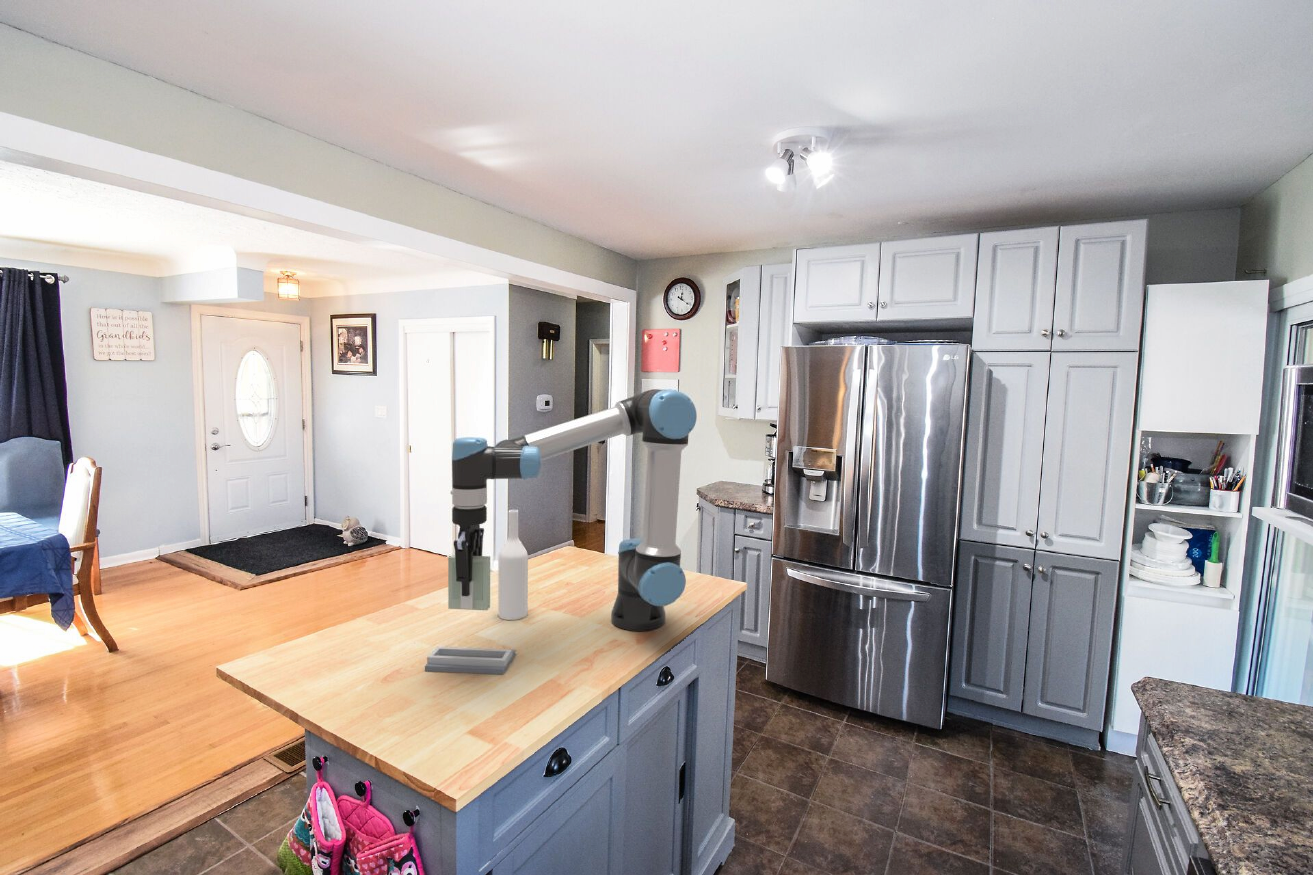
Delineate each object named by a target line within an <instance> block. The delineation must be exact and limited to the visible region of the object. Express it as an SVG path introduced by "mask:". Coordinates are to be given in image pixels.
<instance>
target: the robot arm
mask: <svg viewBox="0 0 1313 875" xmlns="http://www.w3.org/2000/svg"><path fill="white" fill-rule="evenodd" d="M697 414H698V413H697V408H696V405H695V404H694V401H692V399H691V398H690V397H689V396H688V395H687V394H685V393H683V392H682V391H678V390H677V389H670V388H669V389H658V388H657V389H656V388H655V389H654V388H653V389H648V390H645V391H642V392H641V393H638V394H636V395H634V396H633V395H632V396H631V397H628V398H625V399H622V400H619V401H616V403H615V404H614V406H612V407H610V408H607V409H604V410H601V411H597V412H594V413H591V414H588V415H585V416H582V417H579V418H578V417H577V418H575V419H572V420H568V421H566V422H563V423H560V424H557V425H556V424H555V425H553V426H549V427H547V428H543V429H540V430H537V431H533V432H531V433H527V434H525V435H521V436H519V437H516V438H512V439H503V440H500V441H499V442H496V444H495V445H494V446H490V445H489V446H488V441H487V439H486V438H484V437H473V436H470V437H469V436H468V437H467V436H466V437H458V438H456V439H454V440H453V442H452V450H451V451H452V452H451V454H452V455H451V469H452V470H451V476H452V477H451V478H452V480H451V482H452V483H451V484H452V485H451V486H452V490H450V495H452V496H451V498H452V505H453V507H452V508H451V510H452V511H451V512H452V513H451V520H452V521H451V522H452V524H455V525H457V526H459V530H458V533H457V540H454V541H453V547H454V555H455V560H456V581H457V582H461V609H460V610H465V609H473V581H472V562H473V556H483V545H484V533H485V528H484V527H481V525H483V524H485V523H486V522H487V521H488V520H487V518H488V517H487V515H488V514H487V513H488V512H487V511H488V509H487V506H486V504H487V503H488V480H502V479H503V480H508V479H510V480H511V479H512V480H513V479H514V480H517V479H519V480H520V479H522V480H526V479H535V478H537V477H539V476H540V473H541V465H542V464H541V461H545V460H547V459H551V458H554V457H556V456H559V455H562V454H565V453H569V452H571V451H576V450H577V449H581V448H585V447H588V446H589V445H593V444H596V443H600V442H601V441H606V440H608V439H611V438H612V439H613V438H614V437H617V436H620V435H625V436H626V437H630V436H633V435H636V434H642V436H641V437H642V438H641V443H642V444H643V445H644V446H645V447H646V449H647V454H646V455H647V456H646V471H645V489H644V490H645V491H644V503H643V504H644V506H643V520H642V521H643V522H642V523H643V524H642V535H641V536H642V538H641V537H640V538H639V537H638V538H630V539H628V538H627V539H624V540H621V541H620V542H619V546H618V551H617V555H618V564H617V565H618V566H617V567H618V568H617V569H618V570H617V571H618V575H617V579H618V580H617V596H616V598H615V600H614V604H613V606H612V610H611V617H610V619H611V620H610V622H611V623H612V624H613V626H615V627H617V628H620V629H622V630H626V631H633V632H635V631H636V632H644V631H651V630H655V629H659V628H661V627H662V626H664V624H665V623H666V611H665V608H664V607H666V606H668V605H669V606H670V605H672V604H673V603H675V602H676V601H677V600H678V598H680V597H681V596H682V595H683V593H684V591H685V588H686V584H687V578H686V575H685V572H684V570H683V568H682V567H681V557H682V550H681V549H680V547H679V546H678V545H677V544H676V543H677V542H676V541H677V526H678V524H677V523H678V512H679V511H678V509H679V494H680V478H681V464H682V451H683V450H684V449H685V448H686V447H688V445H689V436H690V433H691V432H692V431H693V430H694V428H695V426H696V422H697V419H698V418H697V417H698V416H697Z"/></svg>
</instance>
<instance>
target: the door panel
mask: <svg viewBox="0 0 1313 875" xmlns="http://www.w3.org/2000/svg"><path fill="white" fill-rule="evenodd" d="M447 561H448V563H447V567H448V568H447V569H448V570H447V572H448V581H447V583H448V584H447V585H448V586H447V589H448V594H447V595H448V596H447V597H448V598H447V599H448V600H447V601H448V602H447V603H448V604H447V605H448V607H447V608H448V610H462V609H461V582H457V581H456V560H455V554H451V555H449V556H448V558H447ZM472 581H473V609H464V610H470V611H488V610H489V609H490V608H491V556H490V555H489V556H488V555H486V556H485V555H482V556H473V562H472Z"/></svg>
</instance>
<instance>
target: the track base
mask: <svg viewBox="0 0 1313 875" xmlns="http://www.w3.org/2000/svg"><path fill="white" fill-rule="evenodd" d="M516 651H517V650H516V649H507V648H506V649H505V648H504V649H502V648H479V647H476V648H475V647H459V646H458V647H456V646H455V647H454V646H453V647H452V646H436V647H435V648H434V649H433V650H432V651H431V653H429V655H427V656H426V664H425V665H424V671H425V672H436V673H437V672H439V673H460V674H462V673H463V674H483V675H484V674H486V675H504V674H505V673H506V671H507V669H508V668H509V666H510V664H511V662H512V661H513V660H514V658H515V657H516V655H517V653H516Z"/></svg>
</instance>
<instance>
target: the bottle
mask: <svg viewBox="0 0 1313 875" xmlns="http://www.w3.org/2000/svg"><path fill="white" fill-rule="evenodd" d="M528 554H529V553H528V551H527V549H526V548H525V546H524V544H523V543H522V541H521V540H520V538H519V510H518V509H510V510H508V533H507V539H506V541H505V543H504V544H503V546H502V548H501V549H500V551H499V553H498V560H497V561H498V564H497V565H498V568H497V569H498V570H497V572H498V580H497V582H498V592H497V593H498V594H497V595H498V597H497V598H498V600H497V601H498V604H497V605H498V606H497V607H498V608H497V609H498V610H497V611H498V617H499V619H501V620H506V621H516V620H521V619H523V618H525V617H527V616H528V612H529V610H528V609H529V607H528V606H529V603H528V601H529V600H528V599H529V589H528V588H529V586H528V585H529V577H528V576H529V575H528V574H529V558H528V557H529V556H528Z"/></svg>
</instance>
